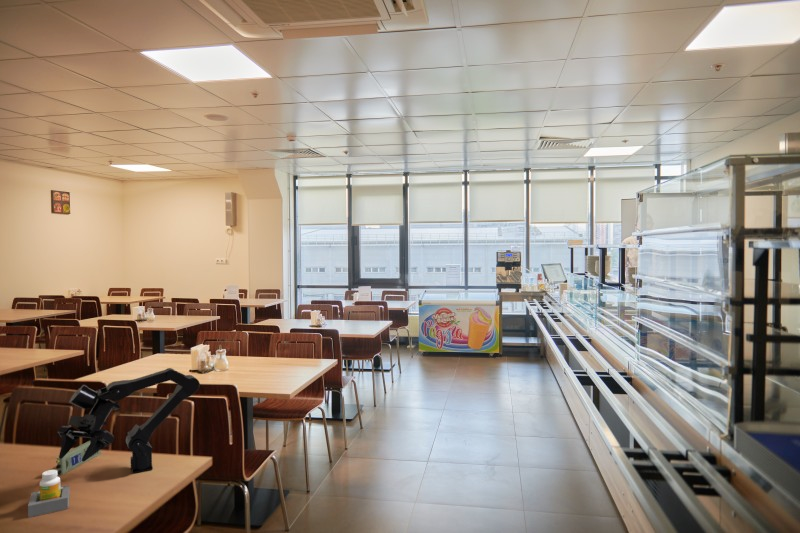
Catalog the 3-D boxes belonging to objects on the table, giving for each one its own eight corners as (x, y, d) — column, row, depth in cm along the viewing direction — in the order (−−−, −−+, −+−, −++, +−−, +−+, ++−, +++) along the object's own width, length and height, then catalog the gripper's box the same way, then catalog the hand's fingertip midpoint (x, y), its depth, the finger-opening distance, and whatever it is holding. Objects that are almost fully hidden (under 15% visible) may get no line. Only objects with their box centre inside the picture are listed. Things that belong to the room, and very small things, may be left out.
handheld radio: (102, 454, 203) (51, 482, 178) (95, 454, 203) (43, 482, 178) (101, 437, 203) (50, 463, 178) (94, 437, 203) (41, 463, 178)
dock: (69, 495, 168) (69, 485, 168) (67, 508, 159) (67, 497, 159) (32, 503, 163) (31, 492, 163) (28, 517, 154) (28, 506, 154)
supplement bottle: (38, 508, 157) (37, 477, 157) (41, 501, 162) (40, 470, 162) (59, 504, 160) (58, 473, 160) (61, 497, 165) (61, 467, 164)
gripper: (61, 402, 175) (32, 446, 165) (106, 406, 171) (79, 452, 160) (81, 417, 183) (54, 460, 173) (125, 422, 179) (100, 466, 168)
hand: (71, 459), depth 168 cm, fingers open, 9 cm apart
